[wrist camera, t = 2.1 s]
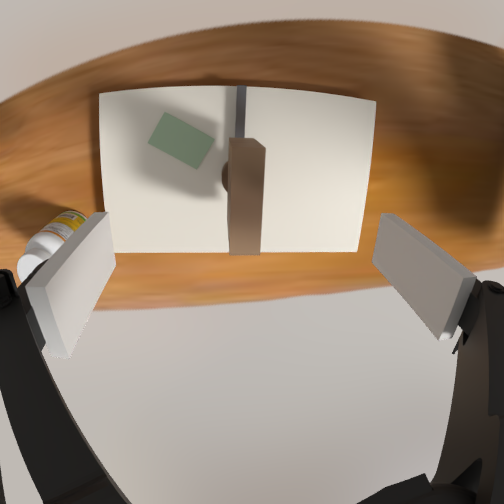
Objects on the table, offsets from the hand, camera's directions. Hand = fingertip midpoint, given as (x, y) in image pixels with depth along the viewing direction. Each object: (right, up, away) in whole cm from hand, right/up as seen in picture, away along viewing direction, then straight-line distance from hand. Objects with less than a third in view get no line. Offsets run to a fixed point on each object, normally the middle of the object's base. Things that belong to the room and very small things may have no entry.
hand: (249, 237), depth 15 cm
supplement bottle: (-20, +2, +17) cm, 26 cm away
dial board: (-1, +7, +16) cm, 17 cm away
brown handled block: (-1, +8, +13) cm, 15 cm away
